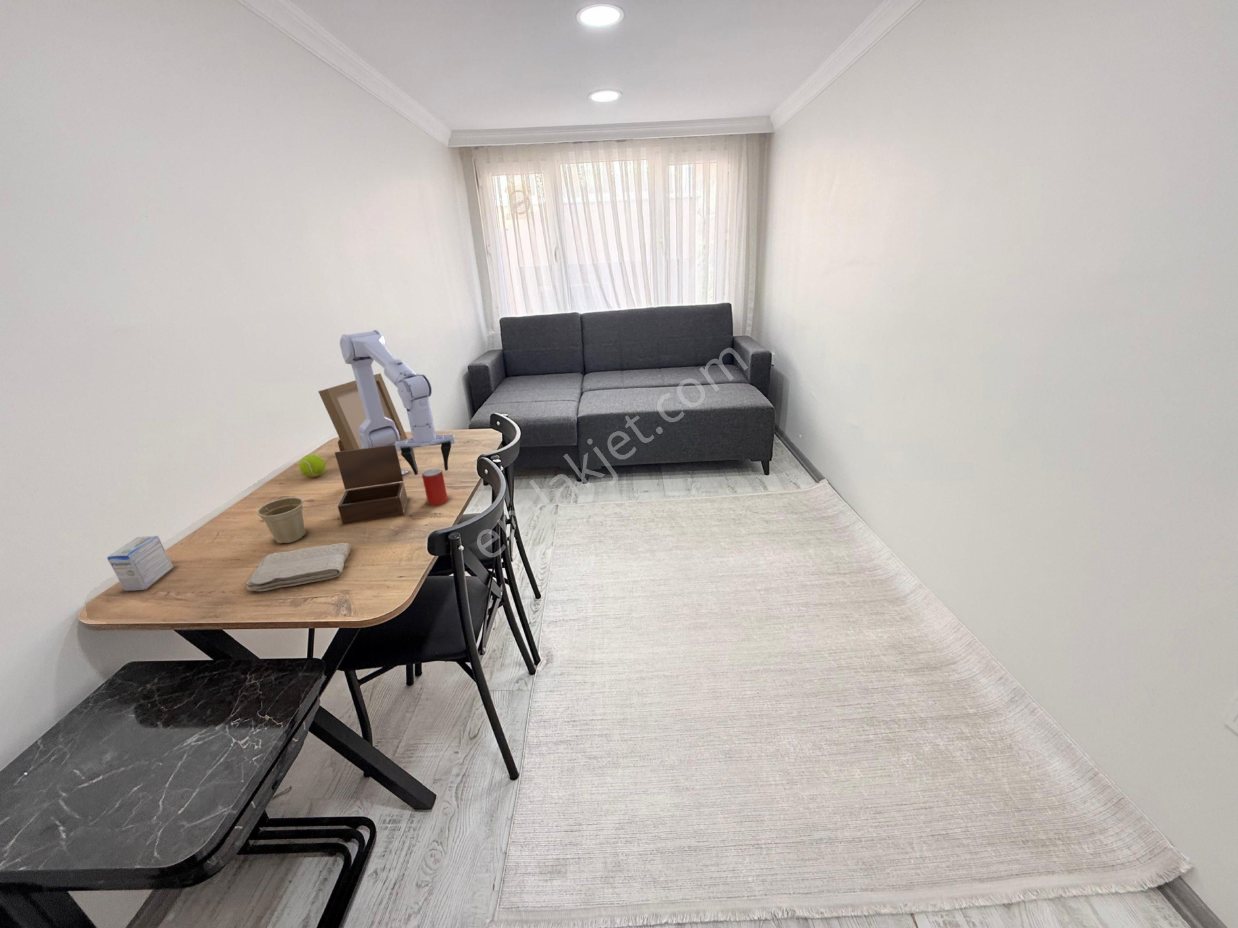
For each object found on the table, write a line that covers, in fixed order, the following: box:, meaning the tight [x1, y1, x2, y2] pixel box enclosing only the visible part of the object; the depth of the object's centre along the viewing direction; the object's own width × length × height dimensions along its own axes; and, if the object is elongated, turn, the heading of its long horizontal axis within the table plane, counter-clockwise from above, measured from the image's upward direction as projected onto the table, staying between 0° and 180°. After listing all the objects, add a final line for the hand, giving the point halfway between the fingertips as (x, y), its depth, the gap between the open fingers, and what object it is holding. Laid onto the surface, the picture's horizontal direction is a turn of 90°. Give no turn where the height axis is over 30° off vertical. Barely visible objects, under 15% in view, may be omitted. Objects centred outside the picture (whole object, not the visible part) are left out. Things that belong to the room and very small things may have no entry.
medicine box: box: [106, 535, 174, 592], centre depth 105 cm, size 8×4×9 cm, turn 5°
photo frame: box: [318, 373, 408, 452], centre depth 169 cm, size 15×22×25 cm
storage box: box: [337, 481, 409, 526], centre depth 130 cm, size 10×15×5 cm, turn 106°
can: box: [421, 468, 449, 507], centre depth 134 cm, size 5×5×9 cm
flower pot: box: [256, 496, 306, 544], centre depth 119 cm, size 9×9×9 cm
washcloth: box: [245, 542, 352, 592], centre depth 107 cm, size 12×18×3 cm, turn 107°
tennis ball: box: [298, 454, 327, 478], centre depth 153 cm, size 7×7×7 cm
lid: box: [334, 445, 404, 490], centre depth 131 cm, size 10×15×1 cm
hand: (431, 471), depth 132 cm, fingers open, 7 cm apart
